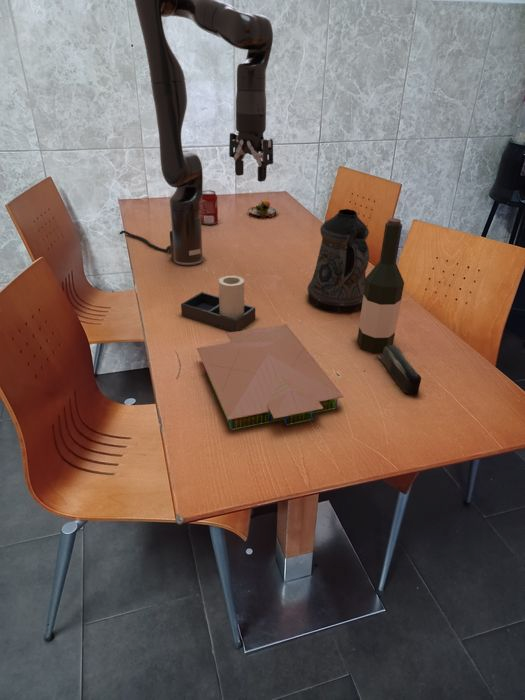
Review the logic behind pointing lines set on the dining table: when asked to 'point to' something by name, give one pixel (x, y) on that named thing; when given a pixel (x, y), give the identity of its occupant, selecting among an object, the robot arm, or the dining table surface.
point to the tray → (215, 313)
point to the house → (266, 375)
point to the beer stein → (341, 264)
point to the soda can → (209, 208)
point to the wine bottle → (382, 295)
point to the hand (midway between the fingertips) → (250, 178)
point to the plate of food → (263, 209)
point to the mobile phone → (401, 369)
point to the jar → (231, 296)
